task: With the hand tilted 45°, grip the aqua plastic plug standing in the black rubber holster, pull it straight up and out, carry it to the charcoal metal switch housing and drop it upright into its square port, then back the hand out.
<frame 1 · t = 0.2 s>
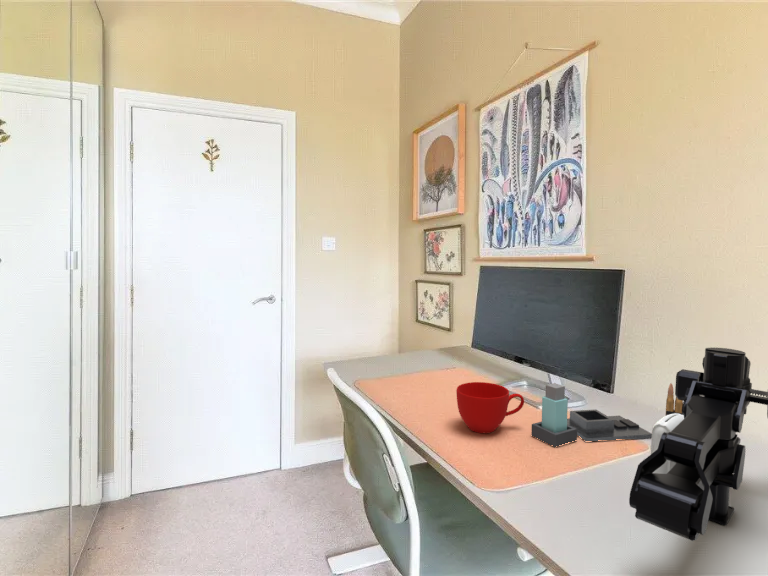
hand: (740, 385, 92), 17 cm above the table, tool horizontal, fingers open, 9 cm apart
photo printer: (670, 476, 88), on the table
ceramic cup: (489, 428, 112), on the table
aqua plug: (554, 412, 105), in the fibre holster
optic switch: (590, 431, 109), on the table
ammunition clip: (690, 435, 107), on the table
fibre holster: (553, 438, 105), on the table
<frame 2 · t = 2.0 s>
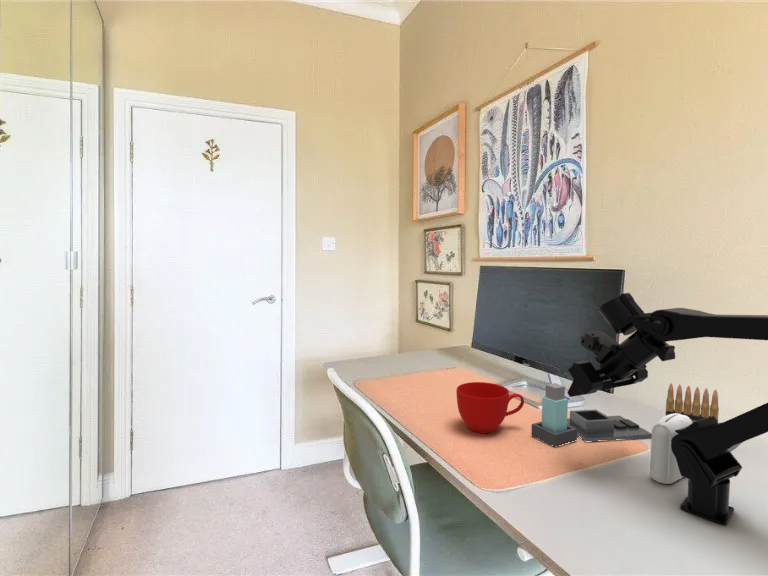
hand: (583, 391, 97), 14 cm above the table, tool tilted 45°, fingers open, 9 cm apart
nothing on the table moved.
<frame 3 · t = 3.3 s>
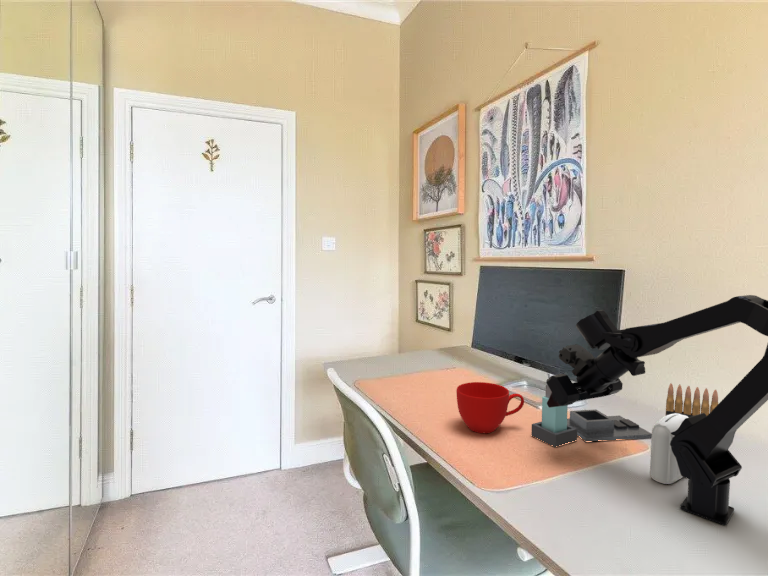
hand: (562, 402, 102), 10 cm above the table, tool tilted 45°, fingers open, 9 cm apart
nothing on the table moved.
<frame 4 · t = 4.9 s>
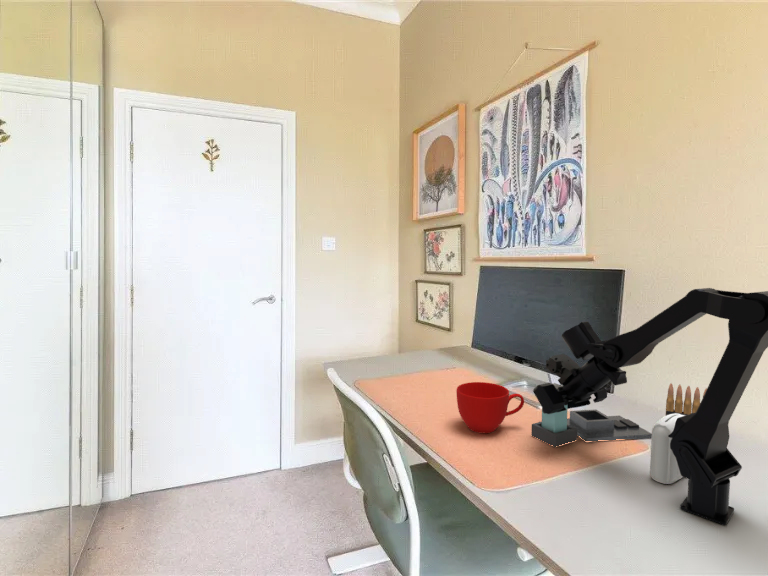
hand: (549, 409, 106), 7 cm above the table, tool tilted 45°, fingers closed on aqua plug, 4 cm apart
aqua plug: (554, 412, 105), in the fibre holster, touching gripper
everything else where it was.
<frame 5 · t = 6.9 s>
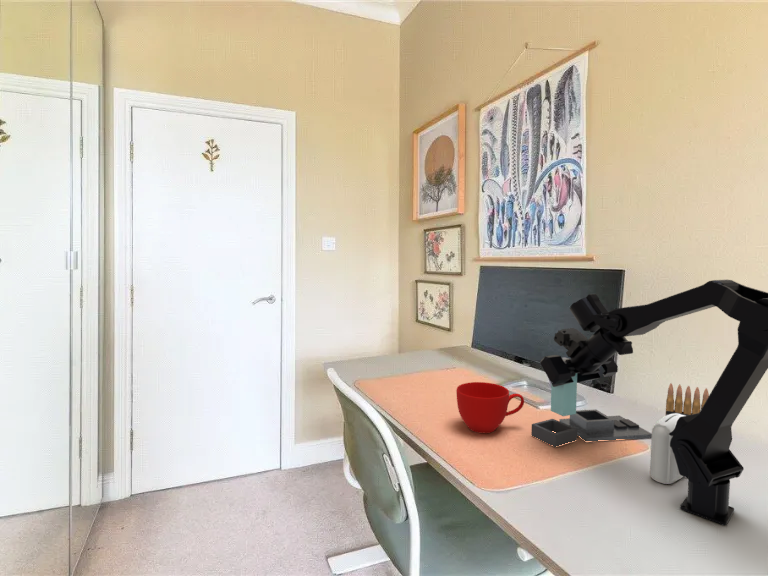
hand: (559, 384, 107), 13 cm above the table, tool tilted 45°, fingers closed on aqua plug, 4 cm apart
aqua plug: (563, 386, 106), point 12 cm above the table, touching gripper
everything else where it was.
when the fingers open (8 cm above the table, at t = 8.9 s): aqua plug stays where it is, resting on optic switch.
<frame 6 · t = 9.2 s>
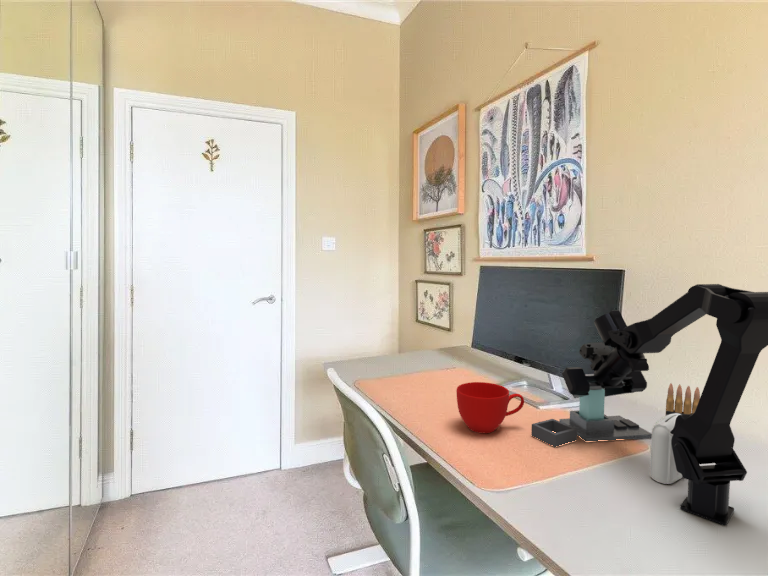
hand: (588, 395, 110), 9 cm above the table, tool tilted 45°, fingers open, 8 cm apart
aqua plug: (591, 401, 109), in the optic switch, point 8 cm above the table
everything else where it was.
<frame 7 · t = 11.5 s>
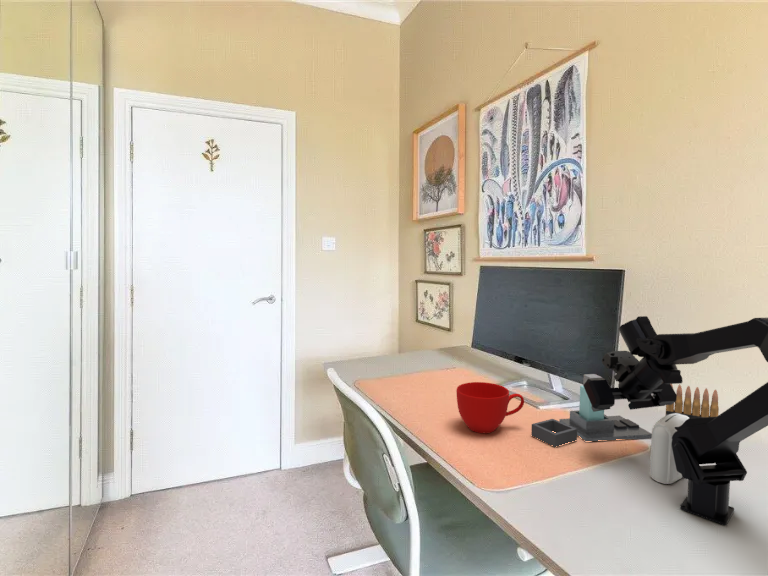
hand: (611, 408, 101), 8 cm above the table, tool tilted 45°, fingers open, 9 cm apart
nothing on the table moved.
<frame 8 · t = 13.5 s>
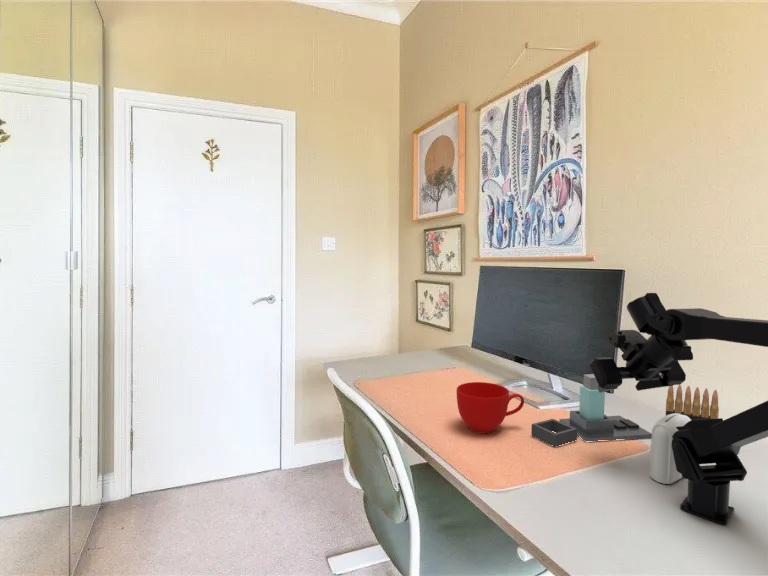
hand: (618, 389, 99), 14 cm above the table, tool tilted 45°, fingers open, 9 cm apart
nothing on the table moved.
at the end: aqua plug 0.0 cm off-centre on the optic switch, point 7.5 cm above the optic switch's base; aqua plug tilted 0°; the gripper is holding nothing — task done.
